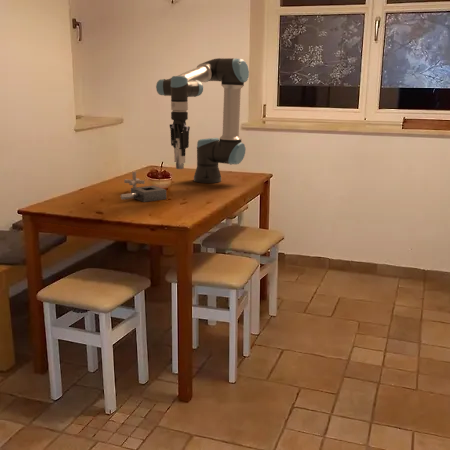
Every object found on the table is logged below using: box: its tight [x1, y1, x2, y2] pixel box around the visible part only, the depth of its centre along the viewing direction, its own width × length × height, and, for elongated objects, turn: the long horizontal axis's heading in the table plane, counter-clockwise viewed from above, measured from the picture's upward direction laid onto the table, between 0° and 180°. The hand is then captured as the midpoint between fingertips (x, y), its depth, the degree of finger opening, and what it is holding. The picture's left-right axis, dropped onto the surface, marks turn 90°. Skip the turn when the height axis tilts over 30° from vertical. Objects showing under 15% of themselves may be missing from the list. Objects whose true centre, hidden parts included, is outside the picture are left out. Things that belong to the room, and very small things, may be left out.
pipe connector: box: [123, 171, 146, 188], centre depth 291 cm, size 10×10×10 cm
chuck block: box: [120, 185, 167, 203], centre depth 275 cm, size 20×12×4 cm, turn 128°
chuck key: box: [172, 138, 185, 170], centre depth 274 cm, size 8×4×14 cm, turn 128°
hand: (179, 162), depth 275 cm, fingers closed on chuck key, 3 cm apart
